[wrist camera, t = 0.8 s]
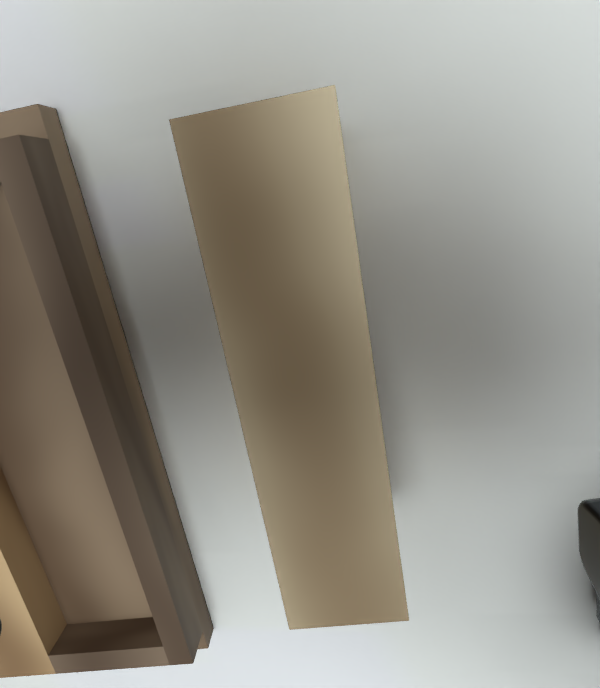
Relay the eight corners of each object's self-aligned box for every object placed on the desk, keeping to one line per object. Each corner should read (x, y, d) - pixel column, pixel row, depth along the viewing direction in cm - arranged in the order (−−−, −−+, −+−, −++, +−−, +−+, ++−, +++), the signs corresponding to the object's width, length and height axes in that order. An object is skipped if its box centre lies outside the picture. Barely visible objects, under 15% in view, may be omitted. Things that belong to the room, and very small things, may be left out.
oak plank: (334, 121, 15) (334, 84, 10) (387, 493, 20) (409, 620, 14) (228, 142, 16) (168, 119, 10) (302, 502, 20) (289, 629, 14)
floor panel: (55, 108, 16) (6, 95, 13) (213, 628, 22) (199, 681, 20) (-210, 168, 17) (-300, 165, 14) (14, 644, 23) (-22, 696, 21)
